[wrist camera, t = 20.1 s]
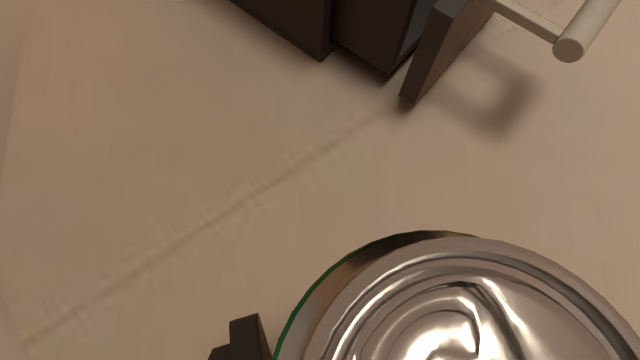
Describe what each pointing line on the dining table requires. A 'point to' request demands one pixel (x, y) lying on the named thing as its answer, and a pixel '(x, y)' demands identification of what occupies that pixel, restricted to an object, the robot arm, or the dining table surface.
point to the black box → (296, 22)
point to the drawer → (448, 32)
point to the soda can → (452, 306)
